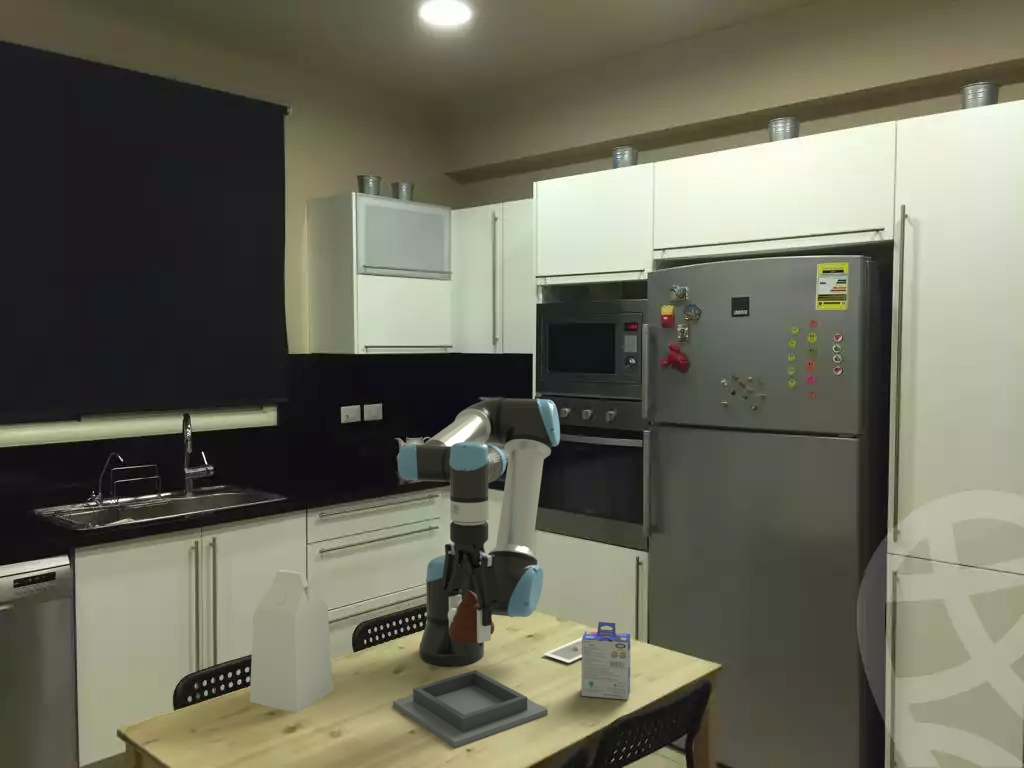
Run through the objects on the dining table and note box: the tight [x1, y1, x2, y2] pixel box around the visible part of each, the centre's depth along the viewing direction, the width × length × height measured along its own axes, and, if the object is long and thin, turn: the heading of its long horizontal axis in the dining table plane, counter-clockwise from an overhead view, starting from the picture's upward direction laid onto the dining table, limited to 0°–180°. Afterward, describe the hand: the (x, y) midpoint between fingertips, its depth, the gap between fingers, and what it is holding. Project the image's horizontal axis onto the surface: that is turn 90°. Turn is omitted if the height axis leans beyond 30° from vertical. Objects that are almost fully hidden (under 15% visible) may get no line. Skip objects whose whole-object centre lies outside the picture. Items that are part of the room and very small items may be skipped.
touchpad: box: [542, 637, 583, 664], centre depth 196 cm, size 8×15×2 cm, turn 138°
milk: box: [249, 568, 334, 714], centre depth 171 cm, size 12×12×26 cm
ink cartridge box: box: [580, 621, 631, 700], centre depth 172 cm, size 10×6×14 cm, turn 78°
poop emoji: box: [448, 590, 495, 643], centre depth 164 cm, size 10×8×9 cm
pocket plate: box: [392, 669, 549, 748], centre depth 165 cm, size 22×22×4 cm
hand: (469, 634), depth 164 cm, fingers closed on poop emoji, 9 cm apart
